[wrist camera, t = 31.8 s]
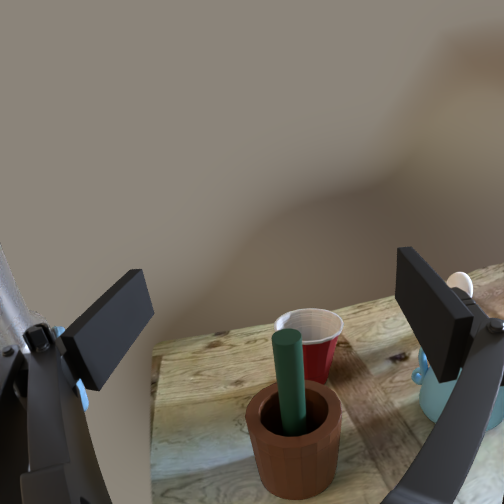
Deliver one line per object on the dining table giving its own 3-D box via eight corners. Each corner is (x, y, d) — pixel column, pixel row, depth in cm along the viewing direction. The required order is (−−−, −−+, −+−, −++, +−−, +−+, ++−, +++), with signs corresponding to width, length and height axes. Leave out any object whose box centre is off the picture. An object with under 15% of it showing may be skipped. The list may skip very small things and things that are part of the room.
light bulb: (468, 313, 59) (476, 268, 55) (465, 329, 54) (474, 282, 50) (442, 308, 63) (448, 264, 59) (437, 323, 58) (444, 277, 55)
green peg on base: (279, 480, 32) (258, 352, 25) (281, 454, 36) (263, 323, 29) (314, 479, 32) (313, 350, 24) (314, 453, 36) (311, 320, 28)
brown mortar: (255, 500, 30) (239, 447, 26) (263, 442, 40) (251, 380, 35) (337, 497, 29) (345, 443, 24) (334, 439, 38) (337, 376, 34)
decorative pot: (429, 459, 30) (459, 392, 26) (403, 384, 45) (414, 316, 41) (518, 426, 28) (554, 358, 24) (481, 365, 43) (499, 300, 39)
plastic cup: (351, 367, 52) (354, 310, 48) (325, 408, 44) (325, 349, 40) (299, 353, 59) (295, 299, 55) (268, 388, 51) (259, 331, 47)
